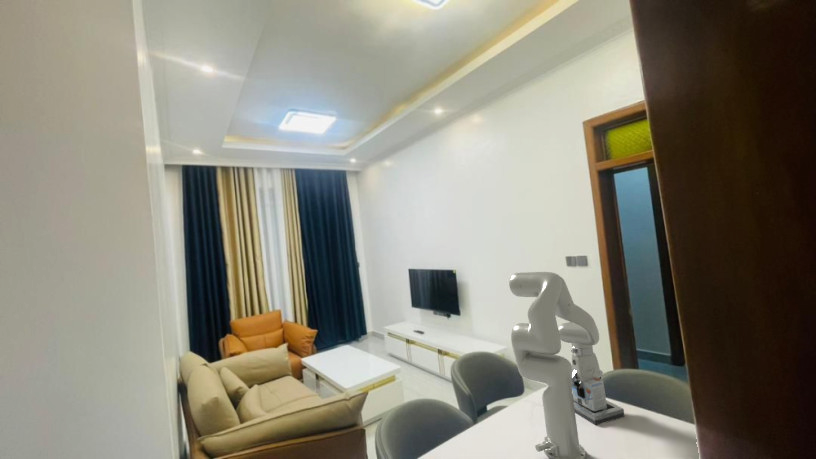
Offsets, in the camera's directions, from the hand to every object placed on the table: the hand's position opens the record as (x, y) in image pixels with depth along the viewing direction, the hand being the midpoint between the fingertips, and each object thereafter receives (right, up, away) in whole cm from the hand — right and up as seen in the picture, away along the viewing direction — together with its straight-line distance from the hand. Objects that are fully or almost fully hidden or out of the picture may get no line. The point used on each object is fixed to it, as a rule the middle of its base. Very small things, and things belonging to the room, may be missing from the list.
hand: (588, 394), depth 128 cm
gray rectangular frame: (+1, -6, 0) cm, 6 cm away
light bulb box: (0, -4, 0) cm, 4 cm away
